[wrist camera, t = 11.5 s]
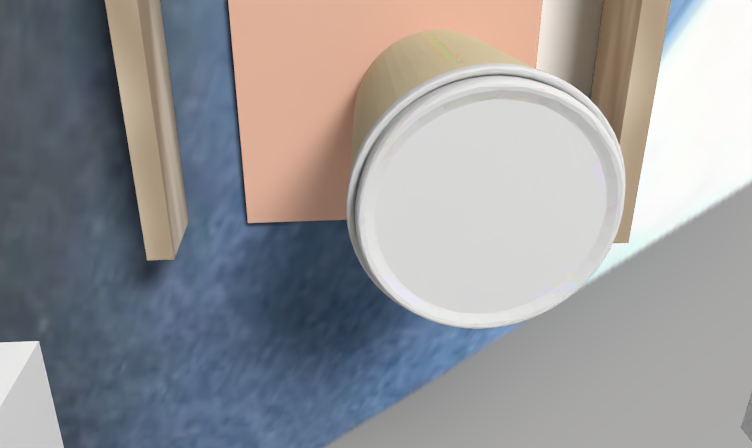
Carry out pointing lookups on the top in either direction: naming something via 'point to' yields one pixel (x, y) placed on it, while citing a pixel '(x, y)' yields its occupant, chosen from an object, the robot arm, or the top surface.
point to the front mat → (333, 85)
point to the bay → (159, 133)
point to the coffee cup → (478, 182)
